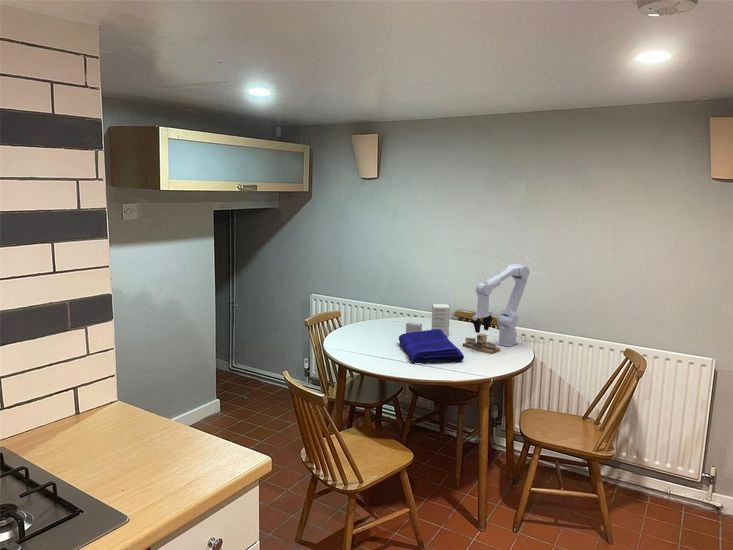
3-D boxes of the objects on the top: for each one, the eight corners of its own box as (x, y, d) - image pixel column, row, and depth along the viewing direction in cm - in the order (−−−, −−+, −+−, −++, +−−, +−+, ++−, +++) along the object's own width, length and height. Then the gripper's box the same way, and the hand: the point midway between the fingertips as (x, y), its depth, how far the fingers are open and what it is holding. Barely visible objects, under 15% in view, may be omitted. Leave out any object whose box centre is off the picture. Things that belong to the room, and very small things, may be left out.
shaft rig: (471, 343, 293) (471, 335, 292) (499, 351, 280) (500, 342, 279) (462, 346, 288) (462, 338, 287) (490, 354, 275) (491, 345, 274)
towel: (412, 365, 258) (412, 348, 256) (396, 343, 292) (397, 328, 291) (465, 363, 262) (465, 346, 260) (443, 342, 296) (444, 326, 295)
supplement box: (449, 336, 306) (450, 307, 303) (432, 336, 306) (433, 307, 303) (446, 331, 315) (448, 303, 312) (431, 331, 315) (432, 303, 312)
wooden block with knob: (480, 344, 286) (480, 333, 285) (486, 346, 283) (487, 335, 282) (475, 345, 284) (476, 334, 283) (482, 347, 281) (483, 336, 280)
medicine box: (421, 338, 301) (422, 323, 300) (418, 340, 297) (418, 325, 296) (409, 336, 305) (409, 321, 304) (405, 338, 301) (405, 323, 300)
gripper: (484, 302, 288) (483, 327, 290) (468, 306, 278) (467, 332, 280) (496, 305, 283) (494, 330, 285) (479, 309, 273) (478, 335, 275)
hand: (481, 331), depth 282 cm, fingers open, 7 cm apart
